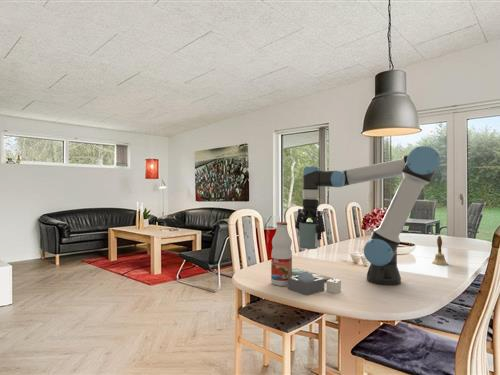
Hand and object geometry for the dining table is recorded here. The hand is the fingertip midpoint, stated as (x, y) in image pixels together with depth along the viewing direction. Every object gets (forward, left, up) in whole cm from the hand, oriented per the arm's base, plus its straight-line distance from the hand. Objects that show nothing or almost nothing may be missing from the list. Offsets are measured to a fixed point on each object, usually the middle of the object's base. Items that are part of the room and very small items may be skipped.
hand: (309, 244), depth 167 cm
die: (-20, +7, -16) cm, 27 cm away
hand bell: (-23, -85, -17) cm, 90 cm away
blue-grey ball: (-12, +15, -15) cm, 24 cm away
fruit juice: (+1, +17, -17) cm, 24 cm away
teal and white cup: (0, 0, -1) cm, 1 cm away
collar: (-12, +15, -16) cm, 25 cm away
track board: (+4, 0, -16) cm, 17 cm away
